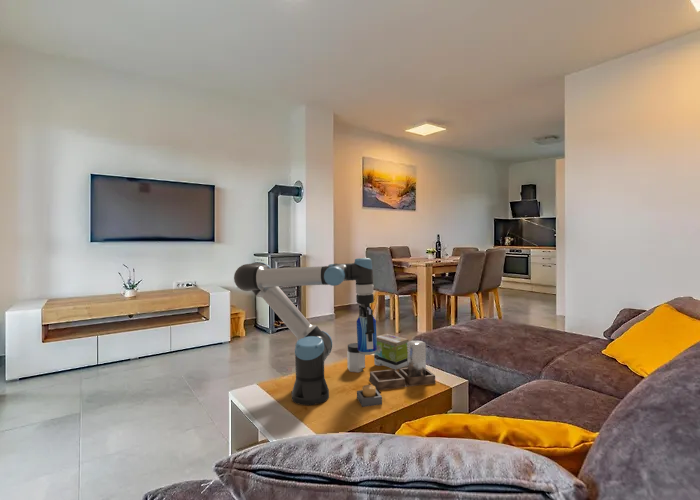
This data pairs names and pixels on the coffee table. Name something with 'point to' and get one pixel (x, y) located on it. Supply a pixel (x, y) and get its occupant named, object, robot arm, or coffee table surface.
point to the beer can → (362, 336)
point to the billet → (416, 358)
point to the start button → (369, 391)
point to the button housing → (369, 399)
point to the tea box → (391, 351)
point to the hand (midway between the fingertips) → (367, 345)
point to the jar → (355, 358)
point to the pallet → (398, 379)
